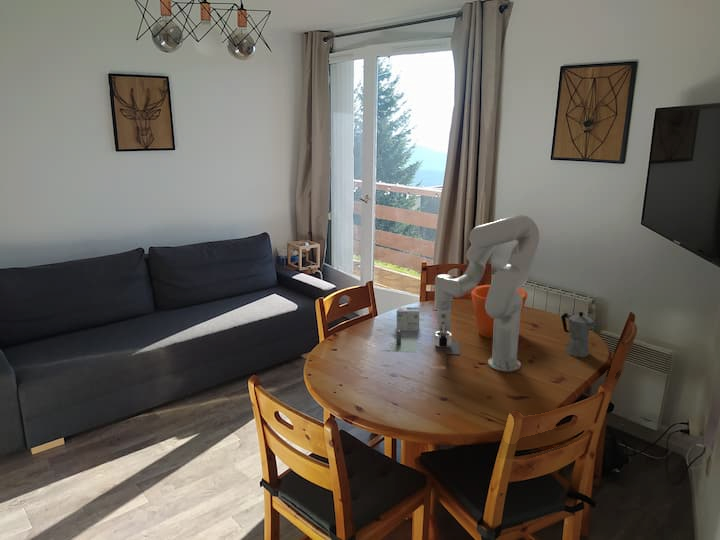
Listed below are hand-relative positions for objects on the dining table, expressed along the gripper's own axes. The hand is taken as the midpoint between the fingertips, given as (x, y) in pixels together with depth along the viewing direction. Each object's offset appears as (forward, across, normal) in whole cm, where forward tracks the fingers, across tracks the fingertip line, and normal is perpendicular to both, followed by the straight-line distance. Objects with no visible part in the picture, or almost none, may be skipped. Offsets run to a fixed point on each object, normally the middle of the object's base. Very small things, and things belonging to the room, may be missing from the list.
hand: (442, 342), depth 222 cm
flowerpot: (+3, +20, -25) cm, 32 cm away
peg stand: (+3, 0, +19) cm, 19 cm away
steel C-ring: (+1, 0, 0) cm, 1 cm away
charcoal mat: (+3, 0, 0) cm, 3 cm away
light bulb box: (+3, +20, +16) cm, 26 cm away
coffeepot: (+3, +1, -55) cm, 55 cm away
